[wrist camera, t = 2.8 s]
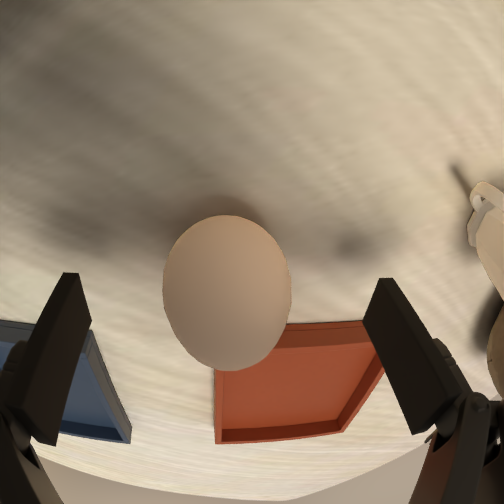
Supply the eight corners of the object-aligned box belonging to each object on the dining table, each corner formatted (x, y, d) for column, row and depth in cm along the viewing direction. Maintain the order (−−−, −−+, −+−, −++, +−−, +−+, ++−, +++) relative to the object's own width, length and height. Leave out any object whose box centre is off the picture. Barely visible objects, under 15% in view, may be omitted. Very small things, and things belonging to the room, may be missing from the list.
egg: (287, 201, 16) (337, 310, 10) (261, 285, 19) (285, 403, 12) (177, 183, 15) (152, 291, 8) (167, 274, 18) (151, 395, 11)
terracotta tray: (214, 325, 20) (216, 349, 19) (394, 317, 22) (405, 337, 21) (214, 426, 29) (215, 444, 27) (338, 416, 30) (343, 432, 29)
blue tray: (-30, 314, 18) (-40, 332, 16) (92, 330, 20) (85, 353, 18) (33, 411, 26) (29, 426, 25) (132, 426, 28) (130, 444, 26)
